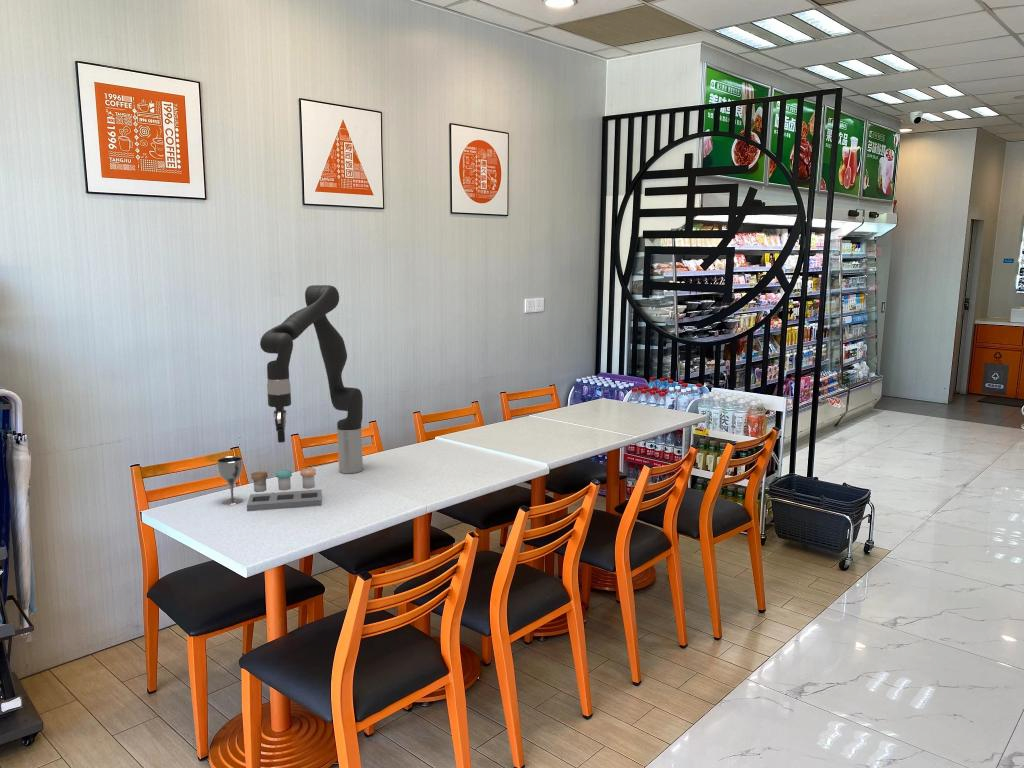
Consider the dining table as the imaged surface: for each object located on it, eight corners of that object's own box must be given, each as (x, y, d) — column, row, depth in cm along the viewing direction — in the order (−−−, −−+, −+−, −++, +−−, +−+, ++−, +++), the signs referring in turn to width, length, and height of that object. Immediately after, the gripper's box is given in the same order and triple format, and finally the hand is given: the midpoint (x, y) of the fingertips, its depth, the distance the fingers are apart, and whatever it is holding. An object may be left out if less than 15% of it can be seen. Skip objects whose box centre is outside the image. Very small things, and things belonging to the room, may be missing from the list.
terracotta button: (301, 485, 268) (300, 468, 267) (316, 484, 269) (315, 467, 268) (300, 489, 263) (299, 472, 262) (316, 488, 264) (315, 471, 263)
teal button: (277, 487, 266) (276, 470, 265) (292, 485, 267) (292, 469, 266) (276, 491, 261) (275, 474, 260) (292, 490, 262) (291, 473, 261)
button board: (250, 499, 268) (250, 494, 267) (321, 494, 273) (321, 489, 273) (247, 511, 256) (246, 505, 256) (321, 505, 262) (320, 499, 261)
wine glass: (216, 504, 263) (212, 462, 261) (227, 497, 271) (224, 456, 268) (237, 505, 262) (235, 462, 260) (248, 498, 270) (246, 456, 267)
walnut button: (253, 488, 264) (252, 471, 263) (268, 487, 265) (267, 470, 264) (251, 493, 259) (250, 476, 258) (267, 492, 260) (266, 475, 259)
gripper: (269, 389, 264) (271, 438, 267) (265, 395, 251) (268, 447, 254) (291, 388, 266) (294, 437, 268) (289, 394, 253) (291, 445, 256)
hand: (281, 441), depth 261 cm, fingers closed
